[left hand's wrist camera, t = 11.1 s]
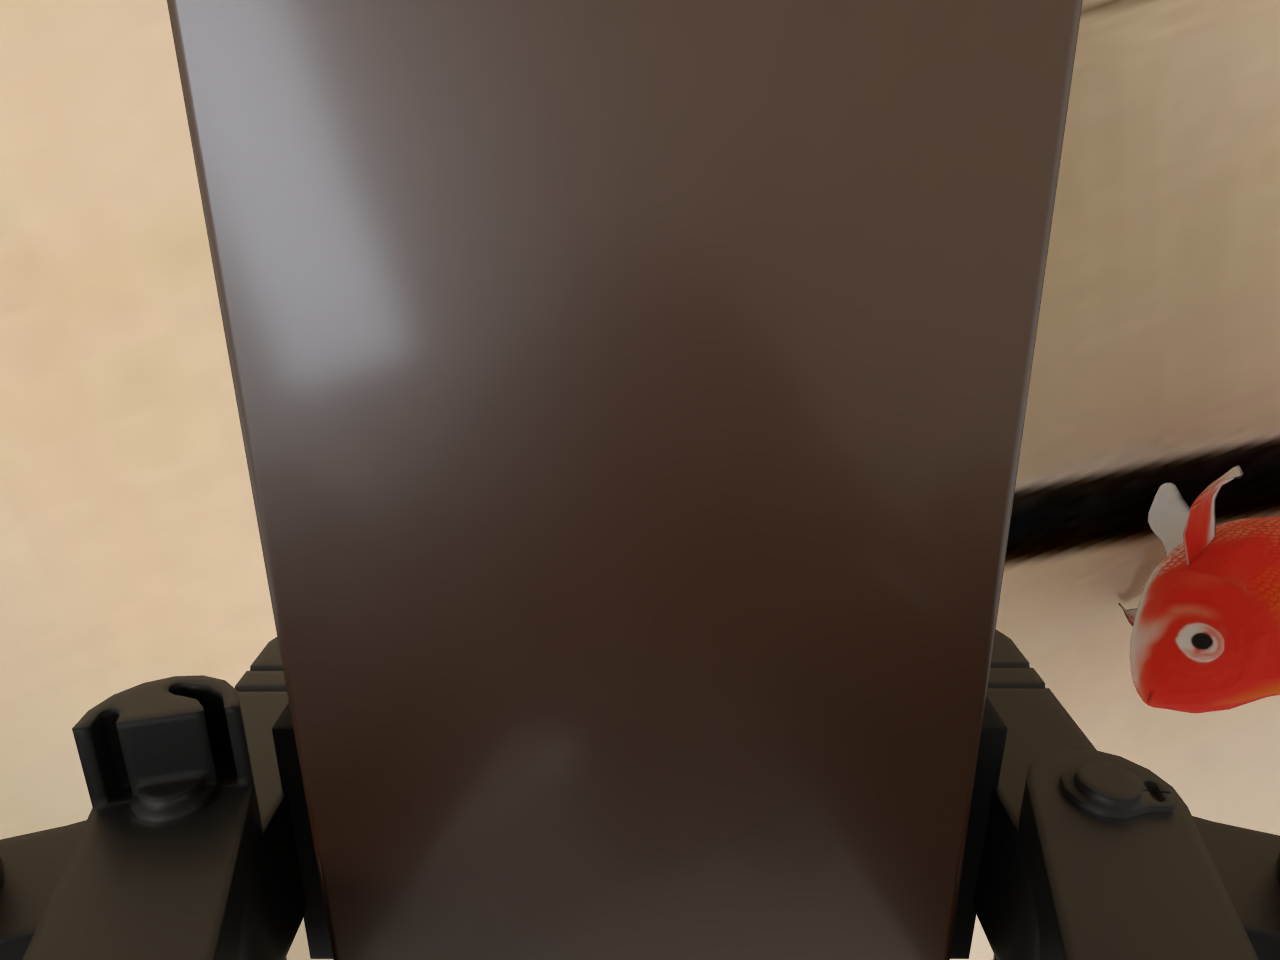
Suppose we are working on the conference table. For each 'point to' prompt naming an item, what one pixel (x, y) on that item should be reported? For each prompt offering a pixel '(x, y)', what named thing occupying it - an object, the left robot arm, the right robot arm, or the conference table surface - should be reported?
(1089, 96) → the conference table surface
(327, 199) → the plank
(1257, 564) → the fish
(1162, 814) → the left robot arm
